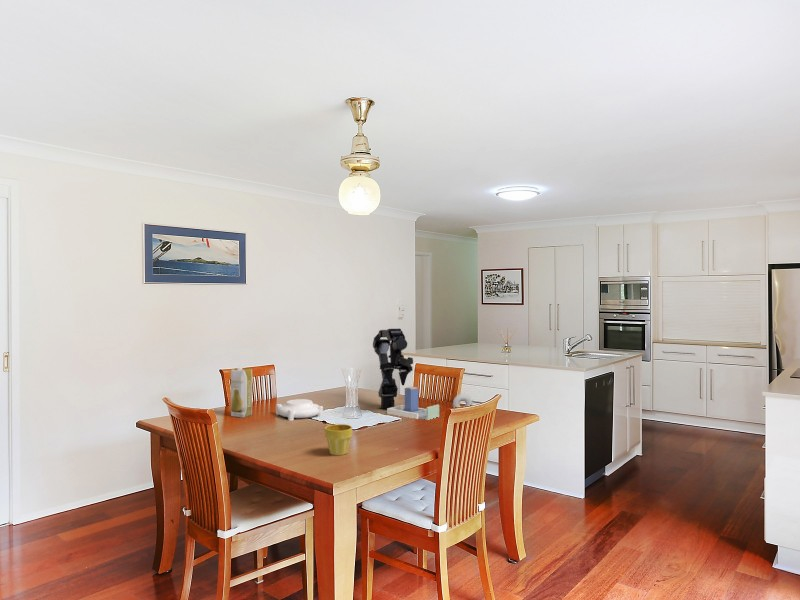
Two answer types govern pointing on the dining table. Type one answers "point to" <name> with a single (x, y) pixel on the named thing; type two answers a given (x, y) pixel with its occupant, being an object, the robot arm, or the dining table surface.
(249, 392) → the juice carton
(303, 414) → the round stand with pegs
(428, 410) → the tray
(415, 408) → the blue beige tall block
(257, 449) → the dining table surface
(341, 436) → the plant pot
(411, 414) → the beige low rectangular frame
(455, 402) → the donut
